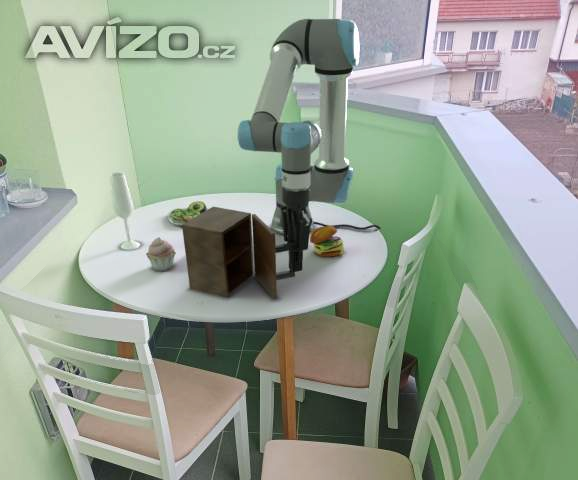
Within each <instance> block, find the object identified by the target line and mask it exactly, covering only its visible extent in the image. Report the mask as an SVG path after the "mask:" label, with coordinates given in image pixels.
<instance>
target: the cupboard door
mask: <svg viewBox="0 0 578 480" xmlns="http://www.w3.org/2000/svg"><path fill="white" fill-rule="evenodd" d="M251 225H252V245H253V265H254V277H255V279H256V280H257V281H258V282H259V283H260V285H261V286H262V287H263V288H264V289H265V291H266V292H267V293H268V294H269V295H270V297H271V298H272V299H273V300H276V299H278V287H277V286H278V285H277V281H281V280H286V279H292V278H295V277H296V272H293V249H295V243H294V242H291V243H287V242H285V243H281V244H277V243H276V232H275V231H273V229H272V228H270V227H269V226H268V225H267V223H265V222H264V221H263V220H262V219H261V218H260V217H259V216H258V215H257V214H256V213H251ZM289 251H290V269H289V270H284V271H279V272H277V255H276V254H278V253H284V252H289Z"/></svg>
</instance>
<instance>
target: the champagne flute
mask: <svg viewBox="0 0 578 480" xmlns="http://www.w3.org/2000/svg"><path fill="white" fill-rule="evenodd" d="M109 184H110V192H111V193H110V194H111V203H112V210H113V212H114V214H115V215H116V216H118V217H119V218H121V219H123V223H124V228H125V229H124V230H125V233H126V239H127V240H125V242H124V243H122V244H120V249H122V250H126V251H131V250H136V249H139V248H140V246H141V243H140V242H138V241H135V240H133V239H132V238H131V232H130V227H129V226H130V225H129V221H128V218H129V217H130V216H131V215H132V214H133V213H134V210H135V207H134V203H133V200H132V195H131V192H130V189H129V186H128V181H127V177H126V174H125V173H124V172H112V173H110V174H109Z"/></svg>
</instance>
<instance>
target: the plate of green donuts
mask: <svg viewBox="0 0 578 480" xmlns="http://www.w3.org/2000/svg"><path fill="white" fill-rule="evenodd" d="M208 209H210V207H207V205H206V204H205V203H204V201H200V200H199V201H193V202H191V203H190V204H189V205H188V206H187V207H179V208H174V209H172V210H170V211H169V212H168V214H167V218H168V222H169V223H170V224H171V225H174V226H175V227H178V228H182V224H184V223H186V222H187V221H189V220H191V219H193V218H194V217H196V216H198V215H199V214H201V213H203V212H205V211H206V210H208Z"/></svg>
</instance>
